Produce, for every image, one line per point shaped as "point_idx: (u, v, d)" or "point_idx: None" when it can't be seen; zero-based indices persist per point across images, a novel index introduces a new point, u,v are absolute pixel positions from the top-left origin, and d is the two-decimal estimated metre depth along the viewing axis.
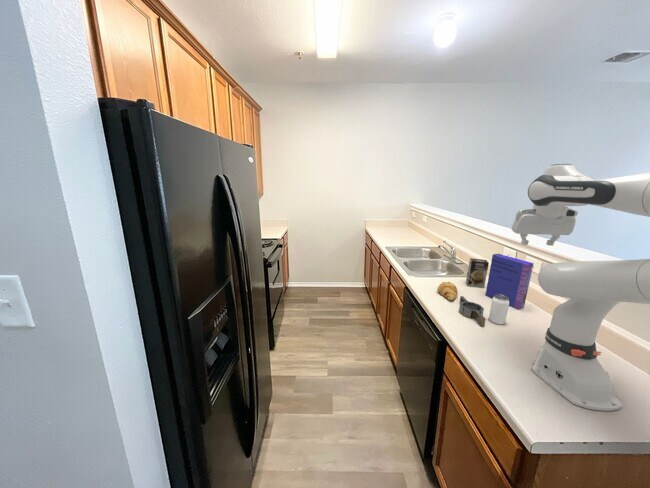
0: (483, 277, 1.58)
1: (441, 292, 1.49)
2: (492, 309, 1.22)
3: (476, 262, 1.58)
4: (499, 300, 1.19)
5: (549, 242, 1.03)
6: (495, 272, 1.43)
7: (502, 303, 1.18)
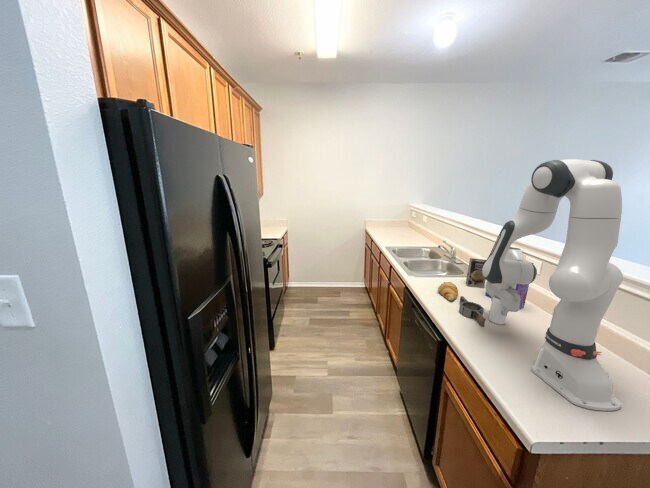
0: (483, 277, 1.58)
1: (441, 292, 1.48)
2: (492, 309, 1.22)
3: (476, 262, 1.58)
4: (499, 300, 1.19)
5: None
6: None
7: None
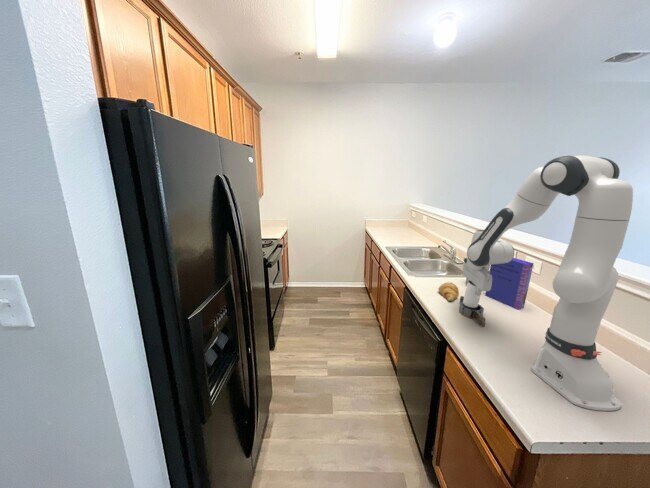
0: None
1: (441, 292, 1.48)
2: (466, 294, 1.28)
3: None
4: (473, 286, 1.24)
5: None
6: (495, 272, 1.43)
7: (476, 289, 1.24)
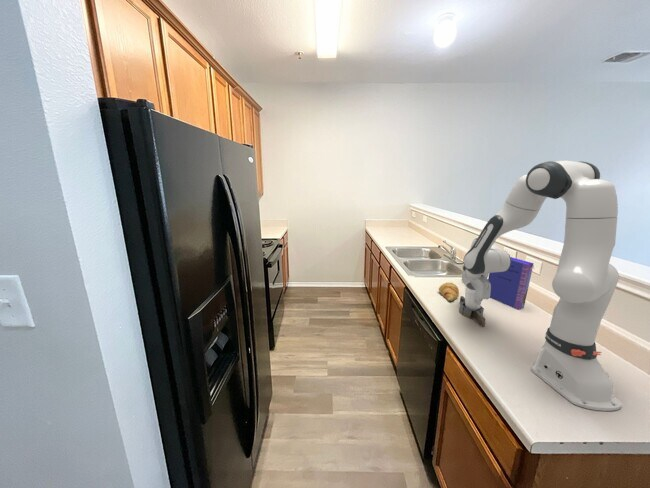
0: None
1: (442, 292, 1.48)
2: (466, 298, 1.27)
3: None
4: (471, 290, 1.23)
5: None
6: (495, 272, 1.43)
7: (473, 293, 1.23)
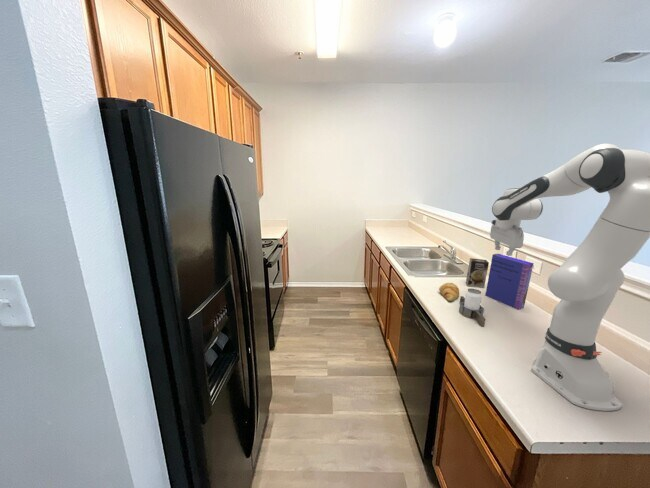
0: (483, 277, 1.58)
1: (442, 292, 1.48)
2: (466, 303, 1.27)
3: (476, 262, 1.58)
4: (473, 294, 1.25)
5: (499, 247, 1.32)
6: (495, 272, 1.43)
7: (475, 296, 1.24)
